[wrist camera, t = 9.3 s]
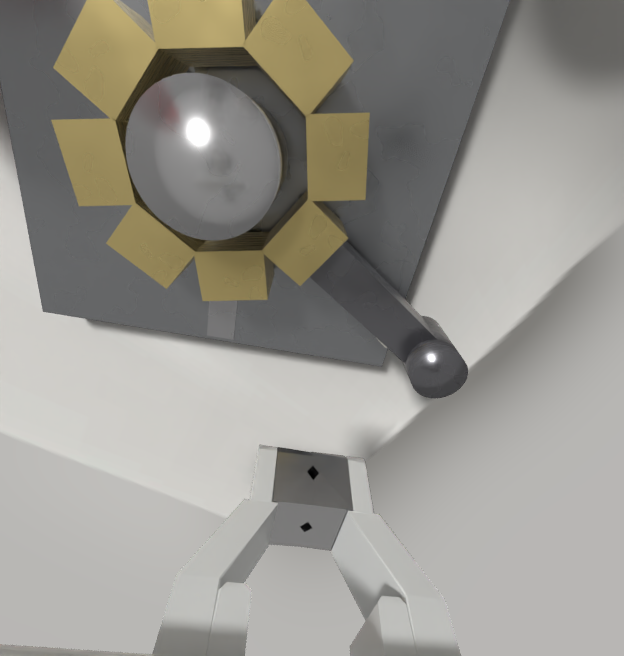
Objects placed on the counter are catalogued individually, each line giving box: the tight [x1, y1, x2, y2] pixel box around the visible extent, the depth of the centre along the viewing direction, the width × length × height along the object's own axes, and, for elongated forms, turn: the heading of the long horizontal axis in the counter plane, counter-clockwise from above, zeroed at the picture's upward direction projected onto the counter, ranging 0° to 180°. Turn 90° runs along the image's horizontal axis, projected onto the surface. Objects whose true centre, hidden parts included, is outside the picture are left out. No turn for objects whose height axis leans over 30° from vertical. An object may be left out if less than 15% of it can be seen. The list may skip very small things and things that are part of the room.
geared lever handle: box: [51, 0, 468, 398], centre depth 14 cm, size 18×10×4 cm, turn 46°
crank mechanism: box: [0, 0, 510, 366], centre depth 13 cm, size 18×19×7 cm
